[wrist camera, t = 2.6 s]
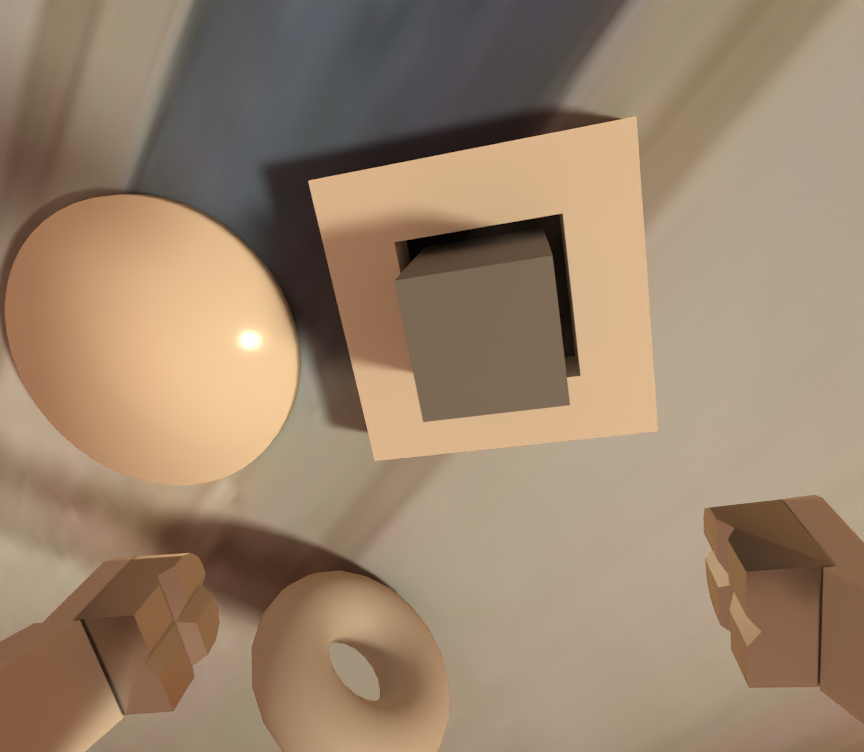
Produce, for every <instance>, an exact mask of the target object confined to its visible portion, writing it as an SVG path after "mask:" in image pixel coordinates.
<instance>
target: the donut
mask: <svg viewBox="0 0 864 752" xmlns="http://www.w3.org/2000/svg"><path fill="white" fill-rule="evenodd" d="M332 642H338V643H344V644H347V645H349V646H351V647H353V648H355V649H356V650H357V651H358V652H360V653H361V654H362V655H363V656H364V657H365V658H366V659H367V661H368V662H369V663H370V665H371V666H372V667H373V669H374V671H375V674H376V676H377V678H378V682H379V687H380V698H379V700H377V701H370V700H366V699H364V698H362V697H360V696H358V695H356V694H355V693H353V692H352V691H351V690H350V689H349V688H347V687H346V686H345V685H344V684H343V682H342V681H341V679H340V678H339V677H338V675H337V674H336V672H335V670H334V667H333V665H332V662H331V660H330V652H329V646H330V643H332ZM252 688H253V691H254V694H255V698H256V701H257V704H258V707H259V710H260V713H261V716H262V720H263V722H264V724H265V726H266V727H267V729H268V730H269V732H270V733H271V735H272V736H273V738H274V739H275V741H276V742H277V744H278V745H279V747H280V748H281V750H282V751H283V752H436V751H437V750H438V749H439V747H440V744H441V741H442V738H443V735H444V731H445V728H446V725H447V721H448V718H449V713H450V697H449V681H448V677H447V673H446V670H445V666H444V662H443V659H442V655H441V651H440V649H439V647H438V645H437V644H436V642H435V640H434V638H433V636H432V634H431V632H430V630H429V628H428V626H427V625H426V624H425V623H424V621H423V620H422V619H421V618H420V616H419V615H418V614H417V613H416V611H415V610H414V609H413V608H412V606H411V605H410V604H408V603H407V602H406V601H405V600H404V599H402V598H401V597H400V596H399V595H398V594H396V593H395V592H394V591H393V590H392V589H390V588H388V587H386V586H385V585H383V584H381V583H379V582H377V581H375V580H373V579H371V578H369V577H366V576H363V575H359V574H354V573H350V572H345V571H341V570H339V571H329V572H318V573H313V574H310V575H308V576H306V577H304V578H302V579H300V580H298V581H296V582H294V583H292V584H290V585H288V586H287V587H286V588H285V589H283V590H282V591H281V592H280V593H279V595H278V596H277V597H276V598H275V600H274V601H273V602H272V603H271V604H270V606H269V607H268V608H267V609H266V610H265V612H264V614H263V616H262V618H261V620H260V623H259V626H258V629H257V633H256V636H255V639H254V642H253V645H252Z"/></svg>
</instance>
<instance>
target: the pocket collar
mask: <svg viewBox="0 0 864 752" xmlns="http://www.w3.org/2000/svg"><path fill="white" fill-rule="evenodd" d="M308 183H309V187H310V191H311V195H312V200H313V204H314V208H315V212H316V216H317V220H318V225H319V229H320V233H321V237H322V241H323V246H324V250H325V254H326V258H327V262H328V267H329V271H330V275H331V279H332V283H333V288H334V292H335V296H336V300H337V304H338V309H339V313H340V317H341V321H342V325H343V330H344V334H345V338H346V342H347V346H348V351H349V355H350V359H351V363H352V367H353V372H354V376H355V380H356V384H357V388H358V392H359V397H360V401H361V405H362V409H363V413H364V418H365V422H366V426H367V430H368V434H369V439H370V443H371V447H372V451H373V455H374V460H375V461H379V460H389V459H398V458H408V457H417V456H427V455H436V454H445V453H455V452H464V451H474V450H483V449H493V448H502V447H512V446H521V445H531V444H540V443H550V442H559V441H569V440H578V439H588V438H597V437H607V436H616V435H626V434H635V433H644V432H654V431H658V425H657V410H656V396H655V381H654V366H653V352H652V337H651V323H650V308H649V293H648V279H647V264H646V250H645V235H644V221H643V206H642V191H641V177H640V162H639V148H638V133H637V118H636V116H635V117H630V118H625V119H620V120H615V121H610V122H605V123H600V124H595V125H589V126H584V127H579V128H574V129H569V130H564V131H559V132H554V133H549V134H544V135H538V136H533V137H528V138H523V139H518V140H513V141H508V142H503V143H498V144H493V145H487V146H482V147H477V148H472V149H467V150H462V151H457V152H452V153H447V154H442V155H436V156H431V157H426V158H421V159H416V160H411V161H406V162H401V163H396V164H391V165H385V166H380V167H375V168H370V169H365V170H360V171H355V172H350V173H345V174H340V175H334V176H329V177H324V178H319V179H314V180H309V181H308ZM556 214H559V216H560V225H561V234H562V243H563V252H564V261H565V270H566V279H567V288H568V297H569V306H570V315H571V324H572V332H573V341H574V350H575V356H570V357H565V366H566V375H567V383H568V392H569V400H570V405H567V406H559V407H550V408H541V409H533V410H524V411H516V412H507V413H498V414H490V415H481V416H472V417H464V418H455V419H446V420H438V421H429V422H423V419H422V414H421V409H420V404H419V399H418V394H417V389H416V384H415V379H414V374H413V369H412V365H411V360H410V355H409V350H408V345H407V340H406V335H405V330H404V325H403V320H402V315H401V311H400V306H399V301H398V296H397V291H396V286H395V279H396V278H397V277H398V276H399V275H400V274H401V273H402V272H403V271H404V269H405V268H406V267H407V266H408V265H409V264H410V263H411V261H410V256H409V251H408V246H407V241H406V240H411V239H416V238H422V237H428V236H434V235H440V234H446V233H451V232H457V231H463V230H469V229H475V228H480V227H486V226H492V225H498V224H504V223H509V222H515V221H521V220H527V219H533V218H539V217H544V216H550V215H556Z"/></svg>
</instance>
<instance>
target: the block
mask: <svg viewBox="0 0 864 752" xmlns="http://www.w3.org/2000/svg"><path fill="white" fill-rule="evenodd" d="M395 286H396V291H397V296H398V301H399V306H400V311H401V315H402V320H403V325H404V330H405V335H406V340H407V345H408V350H409V355H410V360H411V365H412V369H413V374H414V379H415V384H416V389H417V394H418V399H419V404H420V409H421V414H422V419H423V422H429V421H438V420H446V419H455V418H464V417H472V416H481V415H490V414H498V413H507V412H516V411H524V410H533V409H541V408H550V407H559V406H567V405H570V400H569V392H568V383H567V375H566V366H565V357H564V349H563V340H562V332H561V323H560V315H559V306H558V298H557V289H556V281H555V272H554V263H553V255H552V252H551V249H550V246H549V243H548V240H547V237H546V234H545V231H544V228H543V227H542V228H536V229H530V230H524V231H518V232H512V233H506V234H500V235H494V236H488V237H482V238H476V239H470V240H464V241H458V242H452V243H446V244H440V245H434V246H429V247H424V248H423V249H422V251H421V252H420V253H419V254H418V255H417V256H416V257H415V258H414V259H413V261H412V262H411V263H410V264H409V265H408V266H407V267H406V268H405V269H404V271H403V272H402V273H401V274H400V275H399V276H398V277H397V278H396V279H395Z"/></svg>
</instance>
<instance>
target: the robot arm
mask: <svg viewBox="0 0 864 752" xmlns="http://www.w3.org/2000/svg"><path fill="white" fill-rule="evenodd" d="M703 519H704V534H705V536H706V538H707V540H708V542H709V544H710V546H711V548H712V551H711V552H710V553H709V555H708V556H707V557H706V558H705V562H706V575H707V582H708V588H709V593H710V598H711V601H712V604H713V607H714V611H715V613H716V616H717V618H718V620H719V623H720V625H721V626H723V627H724V628H726V629H727V630H729V631H730V632H731V650H732V652H733V654H734V656H735V658H736V661H737V663H738V665H739V667H740V669H741V671H742V674H743V676H744V678H745V680H746V682H747V685H748V687H749V688H767V687H820V690H821V691H822V692H823V693H825V694H826V695H827V696H828V697H830V698H831V699H832V700H834V701H835V702H836V703H837V704H839V705H840V706H841V707H843V708H844V709H845V710H846V711H848V712H849V713H850V714H852V715H853V716H854V717H855V718H857V719H858V720H859V721H861V722H862V723H863V724H864V542H863V541H862V540H861V539H860V538H859V537H858V536H857V535H856V534H855V533H854V531H853V530H852V529H851V528H850V527H849V526H848V525H847V524H846V523H845V522H844V521H843V520H842V519H841V517H840V516H839V515H838V514H837V513H836V512H835V511H834V510H833V509H832V508H831V507H830V506H829V504H828V503H827V502H826V501H825V500H824V499H823V498H822V497H819V496H817V495H811V496H803V497H795V498H787V499H779V500H773V501H764V502H755V503H746V504H737V505H728V506H719V507H710V508H705V510H704V518H703ZM205 575H206V573H205V570H204V568H203V565H202V563H201V560H200V558H199V557H198V556H196V555H194V554H192V553H182V554H167V555H152V556H140V557H135V556H134V557H124V558H115V559H111V560H108V561H104V562H103V563H102V564H101V565H100V566H99V567H98V568H97V569H96V570H95V571H94V572H93V573H92V574H91V575H90V576H89V577H88V578H87V579H86V580H85V581H84V582H83V583H82V584H81V585H80V586H79V587H78V588H77V589H76V590H75V591H74V592H73V593H72V594H71V595H70V596H69V597H68V598H67V599H66V600H65V601H64V602H63V603H62V604H61V605H60V606H59V607H58V608H57V609H56V610H55V611H54V612H53V613H52V614H51V615H50V616H49V617H48V618H47V619H46V620H45V621H44V622H43V623H34V624H32V625H30V626H29V627H27V628H25V629H23V630H21V631H19V632H17V633H16V634H14V635H12V636H10V637H8V638H6V639H5V640H3V641H1V642H0V752H85V751H86V750H87V749H88V748H89V747H91V746H92V745H93V744H94V743H95V742H96V741H97V740H99V739H100V738H101V737H102V736H103V735H104V734H105V733H107V732H108V731H109V730H110V729H111V728H112V727H113V726H115V725H116V724H117V723H118V722H119V721H120V720H121V719H123V715H129V714H143V713H157V712H170V711H174V709H175V708H176V706H177V704H178V703H179V701H180V700H181V698H182V696H183V695H184V693H185V691H186V690H187V688H188V686H189V685H190V683H191V681H192V680H193V678H194V672H193V667H192V666H193V665H194V664H196V663H197V662H199V661H200V660H201V659H203V658H204V657H205V656H207V655H208V653H209V651H210V650H211V648H212V646H213V644H214V643H215V641H216V637H217V632H218V627H219V613H218V607H217V604H216V601H215V598H214V596H213V595H212V594H211V593H210V592H209V591H208V590H206V589H205V588H204V587H203V586H202V583H203V581H204V578H205Z"/></svg>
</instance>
